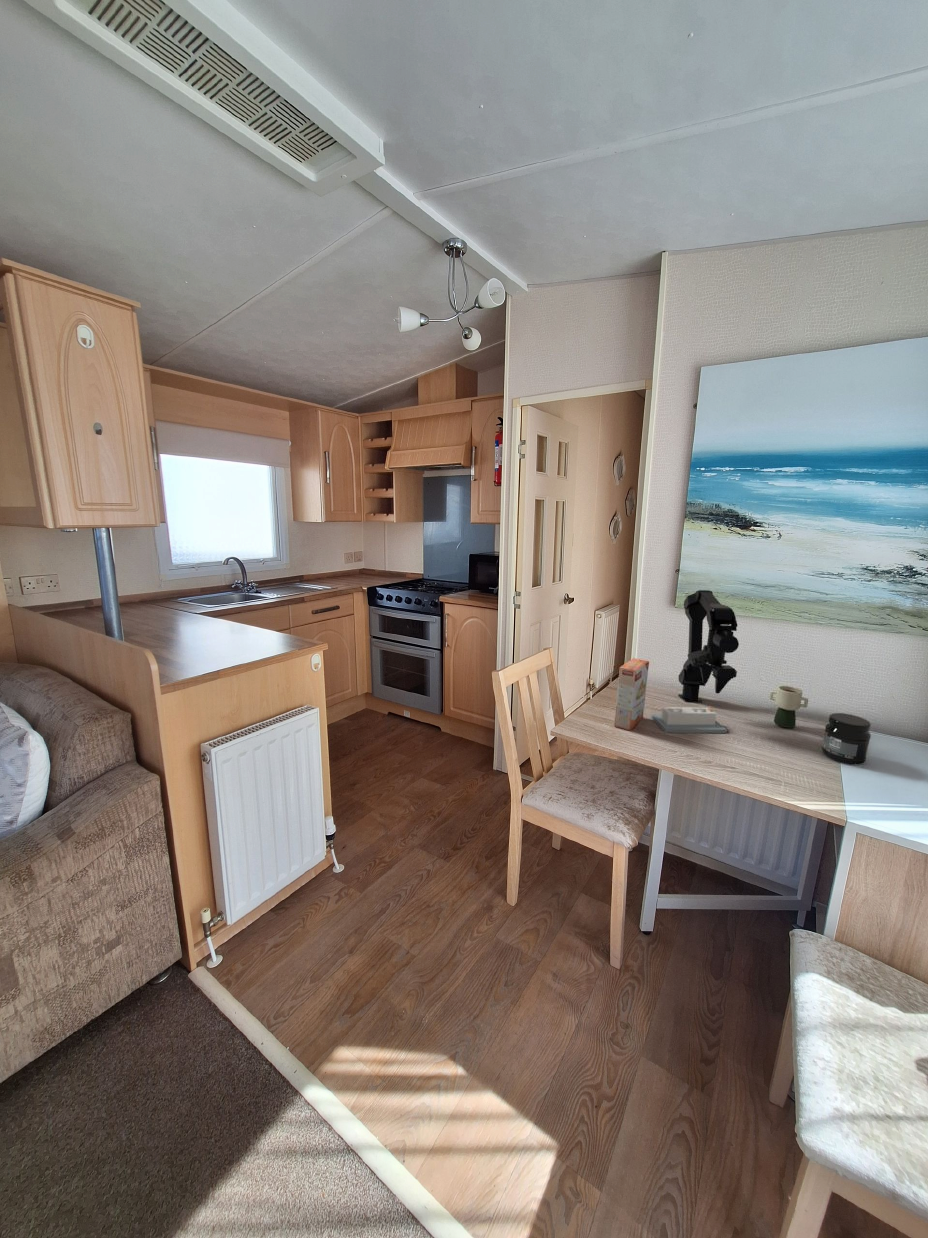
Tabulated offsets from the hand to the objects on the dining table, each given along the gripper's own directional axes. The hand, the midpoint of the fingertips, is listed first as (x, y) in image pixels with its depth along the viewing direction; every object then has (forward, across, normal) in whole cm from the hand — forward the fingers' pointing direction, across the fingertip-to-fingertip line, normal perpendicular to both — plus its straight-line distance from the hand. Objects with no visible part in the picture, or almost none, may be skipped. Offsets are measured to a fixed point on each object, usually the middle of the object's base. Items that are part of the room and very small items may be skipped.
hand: (710, 688), depth 167 cm
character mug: (+12, +4, +24) cm, 27 cm away
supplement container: (+11, +25, +28) cm, 40 cm away
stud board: (+12, +5, -9) cm, 15 cm away
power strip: (+10, +5, -9) cm, 14 cm away
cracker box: (+12, +3, -28) cm, 30 cm away
